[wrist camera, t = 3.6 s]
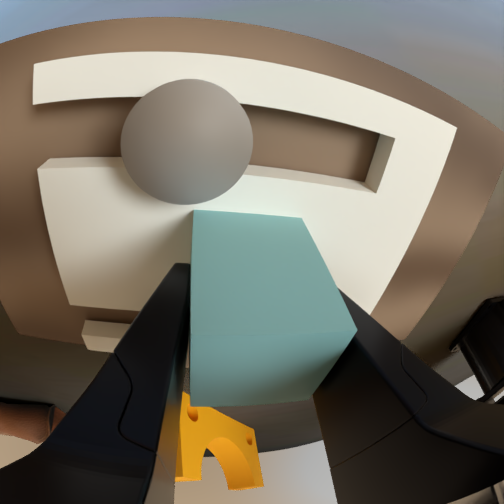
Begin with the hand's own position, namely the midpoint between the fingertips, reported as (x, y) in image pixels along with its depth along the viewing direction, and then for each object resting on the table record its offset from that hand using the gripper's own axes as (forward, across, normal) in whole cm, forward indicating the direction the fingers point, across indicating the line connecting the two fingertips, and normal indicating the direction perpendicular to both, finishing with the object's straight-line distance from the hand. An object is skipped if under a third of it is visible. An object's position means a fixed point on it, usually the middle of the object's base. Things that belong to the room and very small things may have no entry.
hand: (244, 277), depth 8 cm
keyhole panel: (+2, 0, 0) cm, 2 cm away
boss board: (+3, 0, 0) cm, 3 cm away
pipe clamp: (+4, 0, +19) cm, 20 cm away
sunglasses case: (+4, +22, +25) cm, 33 cm away
